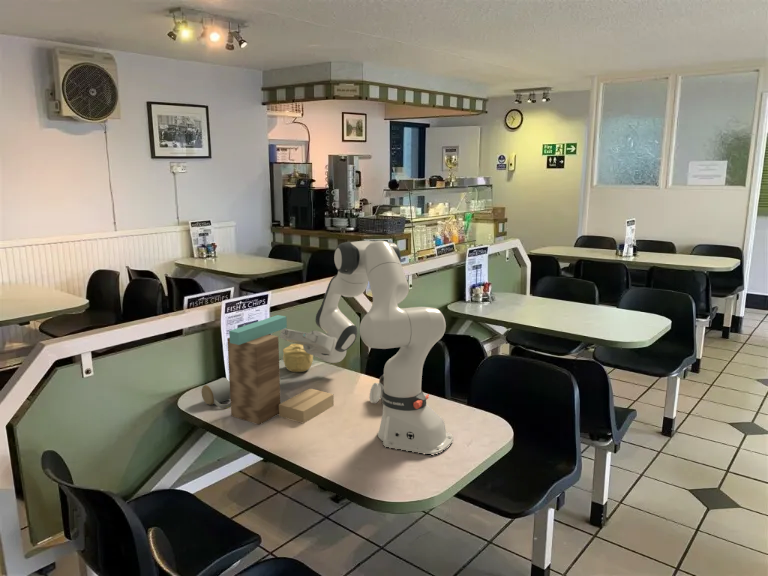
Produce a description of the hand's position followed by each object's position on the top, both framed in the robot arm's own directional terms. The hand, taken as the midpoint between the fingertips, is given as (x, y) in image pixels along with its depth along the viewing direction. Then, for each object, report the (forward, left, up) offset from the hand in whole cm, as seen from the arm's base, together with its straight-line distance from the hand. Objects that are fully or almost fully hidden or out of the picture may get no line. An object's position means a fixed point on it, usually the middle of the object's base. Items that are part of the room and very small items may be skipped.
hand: (293, 332), depth 200 cm
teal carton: (0, +17, +4) cm, 17 cm away
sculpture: (+15, -20, -23) cm, 34 cm away
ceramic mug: (+17, +19, -23) cm, 34 cm away
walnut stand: (0, +20, -22) cm, 30 cm away
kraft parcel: (-12, +9, -22) cm, 27 cm away
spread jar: (-31, -11, -23) cm, 40 cm away
